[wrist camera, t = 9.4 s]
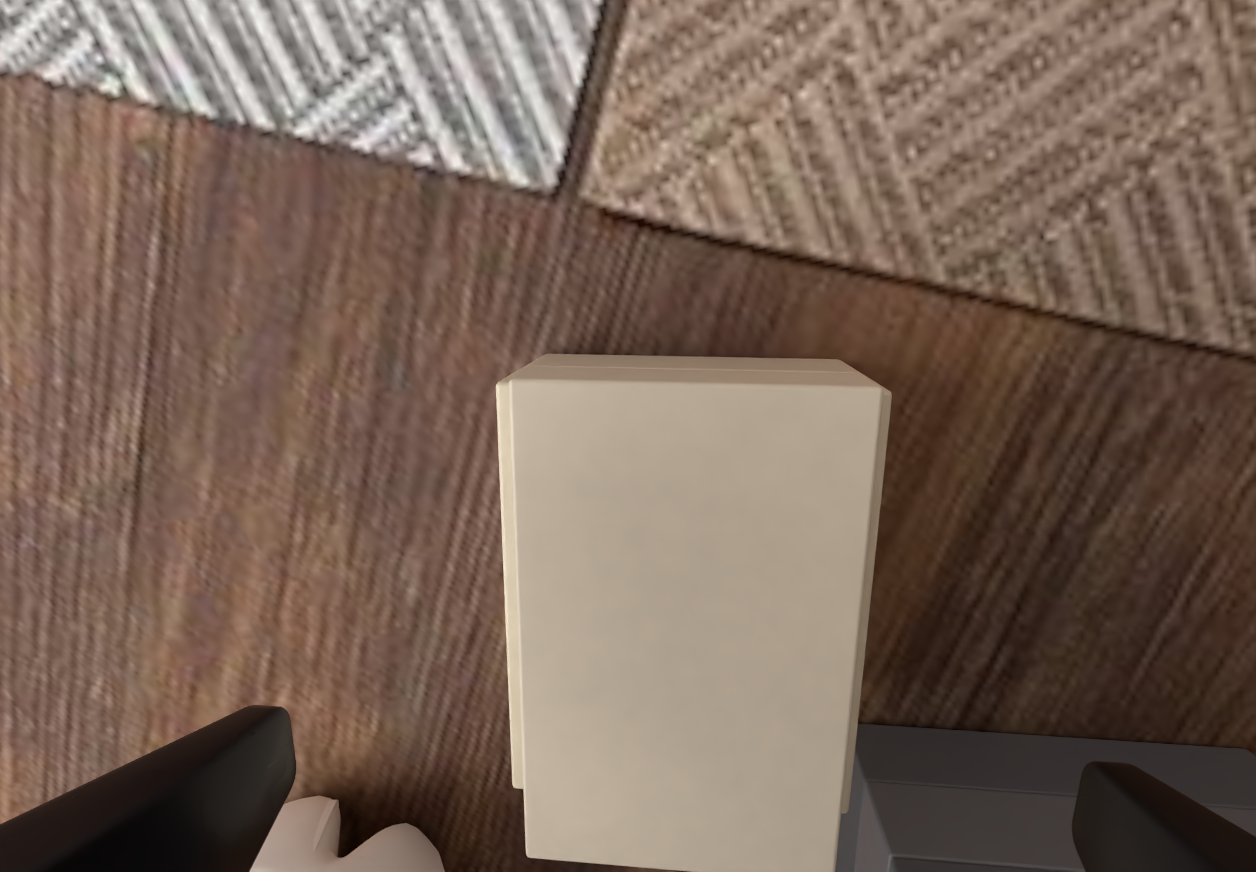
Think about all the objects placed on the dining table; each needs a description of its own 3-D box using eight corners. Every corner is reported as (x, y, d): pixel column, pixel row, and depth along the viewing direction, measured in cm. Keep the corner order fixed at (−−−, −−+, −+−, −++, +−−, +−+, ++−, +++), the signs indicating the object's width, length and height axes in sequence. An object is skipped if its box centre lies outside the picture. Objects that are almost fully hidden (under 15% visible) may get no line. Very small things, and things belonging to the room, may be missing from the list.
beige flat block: (821, 825, 12) (835, 885, 11) (540, 803, 12) (524, 859, 11) (862, 372, 10) (885, 387, 9) (527, 366, 10) (506, 379, 9)
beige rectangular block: (841, 358, 13) (893, 391, 10) (813, 690, 15) (849, 816, 12) (543, 353, 14) (494, 382, 10) (551, 674, 16) (511, 790, 12)
